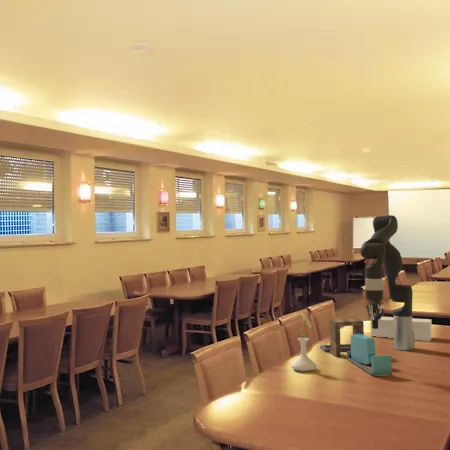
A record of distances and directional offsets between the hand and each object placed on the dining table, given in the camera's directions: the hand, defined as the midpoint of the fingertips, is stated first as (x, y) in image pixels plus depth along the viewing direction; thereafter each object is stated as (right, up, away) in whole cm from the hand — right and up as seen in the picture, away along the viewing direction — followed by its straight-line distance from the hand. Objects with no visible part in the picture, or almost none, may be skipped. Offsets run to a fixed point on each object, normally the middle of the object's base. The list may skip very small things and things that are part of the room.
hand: (375, 328), depth 222 cm
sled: (-1, -19, +7) cm, 20 cm away
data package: (-1, -19, +15) cm, 24 cm away
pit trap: (-6, -20, +44) cm, 48 cm away
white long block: (+36, -20, +72) cm, 83 cm away
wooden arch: (-4, -20, +33) cm, 38 cm away
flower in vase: (-30, -20, +6) cm, 37 cm away
